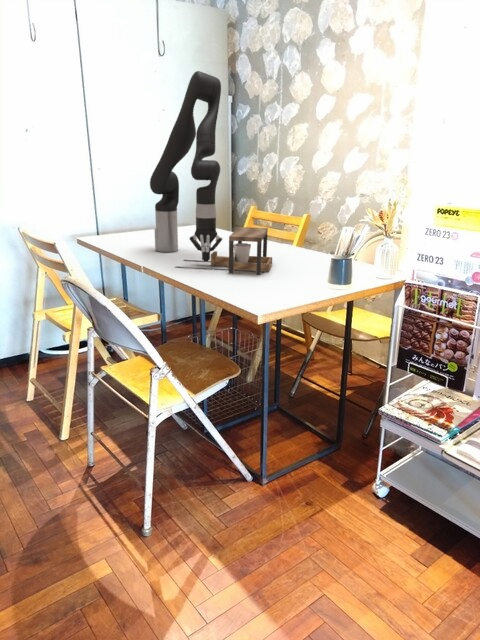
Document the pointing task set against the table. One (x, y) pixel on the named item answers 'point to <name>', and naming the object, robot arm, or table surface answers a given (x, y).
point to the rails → (212, 268)
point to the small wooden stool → (250, 236)
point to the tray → (242, 266)
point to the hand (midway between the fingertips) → (206, 261)
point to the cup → (241, 252)
